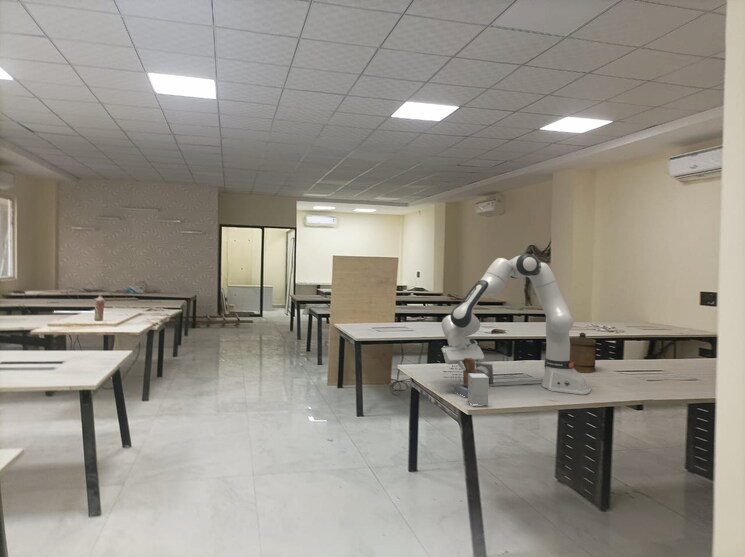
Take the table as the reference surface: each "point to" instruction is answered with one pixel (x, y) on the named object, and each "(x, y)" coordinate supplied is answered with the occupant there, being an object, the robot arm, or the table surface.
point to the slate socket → (461, 389)
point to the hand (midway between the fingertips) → (470, 370)
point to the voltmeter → (479, 370)
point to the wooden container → (583, 353)
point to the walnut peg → (468, 369)
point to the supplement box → (478, 388)
